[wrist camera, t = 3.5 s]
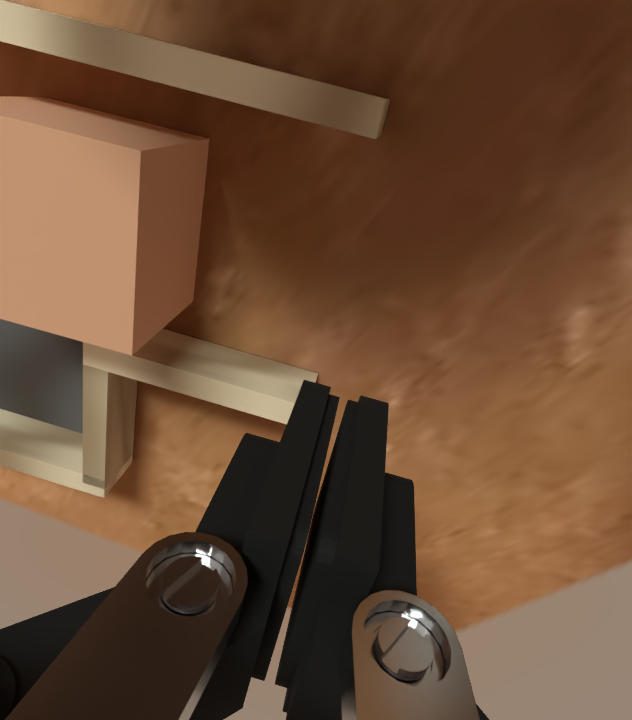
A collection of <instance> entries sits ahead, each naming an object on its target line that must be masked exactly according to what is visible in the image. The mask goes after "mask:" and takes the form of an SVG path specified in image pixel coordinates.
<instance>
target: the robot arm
mask: <svg viewBox="0 0 632 720" xmlns="http://www.w3.org/2000/svg"><path fill="white" fill-rule="evenodd" d="M330 388H331V387H329V386H325V385H322V384H318V383H314V382H311V381H307V380H304V381H303V383H302V386H301V388H300V391H299V394H298V396H297V399H296V402H295V404H294V407H293V409H292V412H291V415H290V417H289V420H288V423H287V425H286V428H285V430H284V433H283V436H282V438H281V441H280V442H277V441H273V440H270V439H266V438H263V437H259V436H256V435H252V434H249V433H246V434H245V435H244V436H243V438H242V440H241V442H240V444H239V446H238V448H237V450H236V452H235V454H234V456H233V458H232V460H231V462H230V464H229V466H228V468H227V470H226V472H225V474H224V476H223V478H222V480H221V482H220V484H219V486H218V488H217V490H216V492H215V494H214V496H213V498H212V500H211V502H210V504H209V506H208V508H207V510H206V512H205V514H204V516H203V518H202V520H201V522H200V524H199V526H198V528H197V530H196V532H184V533H179V534H175V535H170V536H168V537H166V538H164V539H162V540H159V541H157V542H155V543H154V544H153V545H152V546H151V547H150V548H148V549H147V550H146V551H145V552H144V553H143V554H142V555H141V556H140V557H139V559H138V560H137V561H136V563H134V565H133V566H132V567H131V568H130V569H129V571H128V572H127V573H126V574H125V575H124V577H123V578H122V579H121V580H120V582H119V583H118V584H117V585H116V586H115V587H114V588H111V589H108V590H105V591H103V592H100V593H97V594H95V595H92V596H89V597H87V598H84V599H81V600H78V601H76V602H73V603H70V604H68V605H65V606H62V607H59V608H57V609H54V610H51V611H49V612H46V613H43V614H41V615H38V616H35V617H32V618H30V619H27V620H24V621H22V622H19V623H16V624H14V625H11V626H8V627H6V628H3V629H0V720H223V719H225V718H227V717H228V716H230V715H232V714H233V713H235V712H237V711H238V710H240V709H242V707H243V704H244V701H245V697H246V693H247V690H248V686H249V683H250V679H251V677H254V678H256V679H260V680H263V681H264V680H265V677H266V674H267V670H268V667H269V664H270V661H271V657H272V654H273V651H274V648H275V644H276V641H277V638H278V634H279V631H280V628H281V624H282V621H283V618H284V615H285V611H286V608H287V605H288V602H289V598H290V595H291V592H292V589H293V585H294V582H295V579H296V575H297V572H298V569H299V566H300V562H301V559H302V555H303V552H304V548H305V544H306V541H307V544H306V549H305V553H304V558H303V562H302V566H301V571H300V575H299V580H298V584H297V588H296V593H295V597H294V601H293V606H292V610H291V615H290V619H289V624H288V628H287V632H286V637H285V641H284V645H283V650H282V654H281V659H280V663H279V667H278V672H277V676H276V681H275V684H276V685H279V686H283V687H286V688H287V692H286V697H285V701H284V707H283V712H287V717H286V720H489V719H488V718H487V716H486V715H485V714H484V713H483V712H482V710H481V709H480V708H479V707H478V706H477V704H476V703H475V699H474V696H473V691H472V687H471V683H470V679H469V675H468V671H467V667H466V663H465V659H464V655H463V652H462V648H461V645H460V643H459V640H458V638H457V635H456V633H455V631H454V630H453V628H452V627H451V625H450V624H449V622H448V621H447V620H446V618H445V617H444V616H443V615H442V614H441V613H440V612H439V611H438V610H437V609H435V608H434V607H433V606H432V605H431V604H429V603H428V602H426V601H424V600H423V599H421V598H419V597H417V590H416V550H415V510H414V485H413V481H412V480H410V479H406V478H403V477H399V476H396V475H392V474H389V473H385V460H386V442H387V424H388V403H386V402H382V401H379V400H375V399H371V398H368V397H364V396H360V398H359V401H358V402H355V401H351V400H348V401H347V404H346V408H345V411H344V414H343V418H342V421H341V424H340V427H339V431H338V434H337V437H336V441H335V444H334V447H333V451H332V454H331V457H330V460H329V464H328V467H327V470H326V474H325V477H324V480H323V484H322V487H321V490H320V493H319V497H318V500H317V503H316V507H315V502H316V498H317V494H318V489H319V485H320V481H321V476H322V472H323V468H324V463H325V459H326V455H327V450H328V446H329V441H330V437H331V433H332V428H333V424H334V420H335V415H336V411H337V407H338V402H339V398H340V397H337V396H333V395H330V394H329V392H330ZM314 507H315V511H314ZM313 511H314V514H313ZM312 516H313V518H312ZM311 520H312V523H311ZM310 524H311V527H310ZM309 529H310V531H309ZM308 533H309V536H308ZM307 537H308V540H307Z"/></svg>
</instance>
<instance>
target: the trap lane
mask: <svg viewBox="0 0 632 720" xmlns="http://www.w3.org/2000/svg"><path fill="white" fill-rule="evenodd" d="M0 41H2V42H5V43H9V44H13V45H17V46H21V47H24V48H28V49H32V50H36V51H40V52H44V53H47V54H51V55H55V56H59V57H63V58H67V59H70V60H74V61H78V62H82V63H86V64H89V65H93V66H97V67H101V68H105V69H109V70H112V71H116V72H120V73H124V74H128V75H131V76H135V77H139V78H143V79H147V80H151V81H154V82H158V83H162V84H166V85H170V86H174V87H177V88H181V89H185V90H189V91H193V92H196V93H200V94H204V95H208V96H212V97H216V98H219V99H223V100H227V101H231V102H235V103H238V104H242V105H246V106H250V107H254V108H258V109H261V110H265V111H269V112H273V113H277V114H281V115H284V116H288V117H292V118H296V119H300V120H303V121H307V122H311V123H315V124H319V125H323V126H326V127H330V128H334V129H338V130H342V131H345V132H349V133H353V134H357V135H361V136H365V137H368V138H372V139H376V138H377V137H379V136H380V135H381V133H382V129H383V125H384V122H385V118H386V114H387V110H388V106H389V103H390V99H387V98H383V97H379V96H375V95H371V94H367V93H363V92H359V91H355V90H351V89H348V88H344V87H340V86H336V85H332V84H328V83H324V82H320V81H316V80H313V79H309V78H305V77H301V76H297V75H293V74H289V73H285V72H281V71H278V70H274V69H270V68H266V67H262V66H258V65H254V64H250V63H246V62H243V61H239V60H235V59H231V58H227V57H223V56H219V55H215V54H211V53H207V52H204V51H200V50H196V49H192V48H188V47H184V46H180V45H176V44H172V43H169V42H165V41H161V40H157V39H153V38H149V37H145V36H141V35H137V34H134V33H130V32H126V31H122V30H118V29H114V28H110V27H106V26H102V25H99V24H95V23H91V22H87V21H83V20H79V19H75V18H71V17H67V16H63V15H60V14H56V13H52V12H48V11H44V10H40V9H36V8H32V7H28V6H25V5H21V4H17V3H13V2H9V1H5V0H0ZM317 377H318V373H314V372H311V371H307V370H304V369H301V368H297V367H294V366H290V365H287V364H283V363H280V362H276V361H273V360H269V359H266V358H262V357H259V356H256V355H252V354H249V353H245V352H242V351H238V350H235V349H231V348H228V347H224V346H221V345H217V344H214V343H211V342H207V341H204V340H200V339H197V338H193V337H190V336H186V335H183V334H179V333H176V332H173V331H169V330H166V329H161V330H160V331H159V332H158V333H157V334H156V335H155V336H154V337H152V338H151V339H150V340H149V341H148V342H147V343H146V344H145V345H143V346H142V347H141V348H140V349H139V350H138V351H137V352H136V353H134V354H133V355H132V356H131V355H128V354H124V353H121V352H117V351H114V350H110V349H106V348H103V347H99V346H96V345H92V344H89V343H85V342H81V341H78V340H74V339H71V338H67V337H64V336H60V335H56V334H53V333H49V332H46V331H42V330H39V329H35V328H31V327H28V326H24V325H21V324H17V323H14V322H10V321H6V320H3V319H0V466H3V467H6V468H9V469H12V470H16V471H19V472H22V473H25V474H29V475H32V476H35V477H38V478H41V479H45V480H48V481H51V482H54V483H58V484H61V485H64V486H67V487H71V488H74V489H77V490H80V491H83V492H87V493H90V494H93V495H96V496H100V497H103V498H104V497H105V496H106V495H107V494H108V492H109V491H110V490H111V489H112V487H113V486H114V485H115V484H116V482H117V481H118V480H119V479H120V477H121V476H122V475H123V473H124V472H125V471H126V470H127V468H128V467H129V466H130V465H131V463H132V461H133V446H134V430H135V415H136V399H137V383H138V381H141V382H145V383H148V384H151V385H155V386H158V387H161V388H165V389H168V390H172V391H175V392H178V393H182V394H185V395H189V396H192V397H195V398H199V399H202V400H205V401H209V402H212V403H216V404H219V405H222V406H226V407H229V408H233V409H236V410H239V411H243V412H246V413H249V414H253V415H256V416H260V417H263V418H266V419H270V420H273V421H277V422H280V423H283V424H287V423H288V420H289V417H290V415H291V412H292V409H293V407H294V404H295V402H296V399H297V396H298V394H299V391H300V388H301V386H302V383H303V381H304V380H307V381H311V382H314V383H316V381H317Z"/></svg>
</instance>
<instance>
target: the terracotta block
mask: <svg viewBox="0 0 632 720" xmlns="http://www.w3.org/2000/svg"><path fill="white" fill-rule="evenodd" d="M209 141H210V139H209V138H205V137H201V136H197V135H193V134H189V133H185V132H181V131H177V130H173V129H169V128H165V127H161V126H157V125H153V124H149V123H145V122H141V121H137V120H133V119H129V118H125V117H121V116H117V115H113V114H109V113H105V112H101V111H97V110H93V109H90V108H86V107H82V106H78V105H74V104H70V103H66V102H62V101H58V100H54V99H50V98H46V97H13V96H0V319H3V320H6V321H10V322H14V323H17V324H21V325H24V326H28V327H31V328H35V329H39V330H42V331H46V332H49V333H53V334H56V335H60V336H64V337H67V338H71V339H74V340H78V341H81V342H85V343H89V344H92V345H96V346H99V347H103V348H106V349H110V350H114V351H117V352H121V353H124V354H128V355H131V356H132V355H133V354H134V353H136V352H137V351H138V350H139V349H140V348H141V347H142V346H143V345H145V344H146V343H147V342H148V341H149V340H150V339H151V338H152V337H154V336H155V335H156V334H157V333H158V332H159V331H160V330H161V329H163V328H164V327H165V326H166V325H167V324H168V323H169V322H170V321H172V320H173V319H174V318H175V317H176V316H177V315H178V314H179V313H181V312H182V311H183V310H184V309H185V308H186V307H187V306H188V305H190V304H191V303H192V302H193V298H194V288H195V278H196V268H197V258H198V249H199V239H200V229H201V219H202V209H203V199H204V190H205V180H206V170H207V160H208V150H209Z"/></svg>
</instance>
